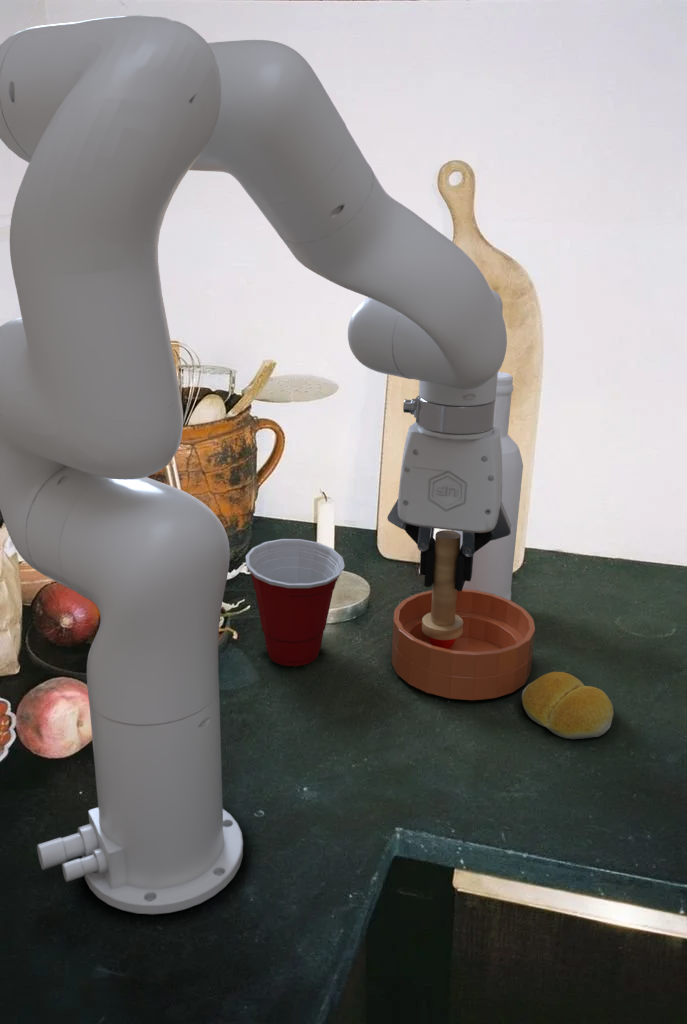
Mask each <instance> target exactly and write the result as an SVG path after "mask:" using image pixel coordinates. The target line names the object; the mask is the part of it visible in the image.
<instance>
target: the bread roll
mask: <svg viewBox="0 0 687 1024" xmlns="http://www.w3.org/2000/svg"><path fill="white" fill-rule="evenodd" d="M521 701H522V706H523V709H524V711H525V714H527V716H528V717H529V719H531V720H532V721H534V722H535V723H537V724H538V725H539V726H542V727H545V728H546V729H547V730H549V731H550V732H551V733H553V734H554V735H556V736H558V737H560V738H563V739H568V740H580V739H591V738H592V739H593V738H598V737H601V736H602V735H604V734H605V733H607V732H608V730H609V729H610V728H611V725H612V722H613V718H614V713H615V711H614V707H613V703H612V701H611V700H610V697H609V696H608V695H607V693H605V692H604V691H603V690H602V689H600V688H598V687H595V686H590V685H585V684H584V683H583V682H582V681H581V680H580V679H579V678H577V677H576V676H574V675H572V674H571V673H568V672H565V671H550V672H548V673H545V674H543V675H540V676H539V677H537V678H536V679H535V680H533V681H532V682H530V683H528V684H527V685H526V687H524V689H523V690H522V694H521Z"/></svg>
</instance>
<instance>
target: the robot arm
mask: <svg viewBox="0 0 687 1024" xmlns="http://www.w3.org/2000/svg"><path fill="white" fill-rule="evenodd" d="M0 140H1V142H2V143H3V144H4V145H5V147H7V148H8V149H9V150H10V151H11V152H12V153H13V154H14V155H16V156H17V157H18V158H19V159H22V160H23V161H25V162H27V163H28V166H27V167H26V169H25V172H24V174H23V177H22V180H21V182H20V185H19V188H18V191H17V194H16V196H15V199H14V203H13V208H12V213H11V217H10V226H9V257H10V263H11V270H12V276H13V280H14V285H15V290H16V295H17V300H18V305H19V310H20V317H17V318H14V319H11V320H9V321H7V322H5V323H3V324H1V325H0V513H1V517H2V520H3V523H4V525H5V528H6V531H7V533H8V536H9V538H10V540H11V542H12V545H13V546H14V549H15V550H16V551H17V553H18V554H19V556H20V557H21V558H22V559H23V561H25V563H26V564H28V566H30V567H31V568H32V569H33V570H35V571H36V572H38V573H40V574H41V575H43V576H45V577H46V578H48V579H49V580H52V581H54V582H56V583H58V584H59V585H62V586H63V587H66V588H67V589H70V590H72V591H73V592H76V593H77V594H78V595H80V596H81V597H83V598H85V599H87V600H89V601H90V602H92V603H93V604H95V606H96V607H97V609H98V611H99V616H100V619H99V620H100V621H99V627H98V630H97V632H96V634H95V637H94V638H93V641H92V643H91V646H90V648H89V651H88V655H87V661H86V686H87V688H86V689H87V698H88V706H89V715H90V718H89V719H90V726H91V738H92V739H91V740H92V741H91V742H92V751H93V762H94V763H93V764H94V774H95V785H96V797H97V807H94V808H90V809H89V810H88V811H87V812H88V813H87V814H88V821H89V823H87V824H85V825H82V826H79V827H77V832H76V833H72V834H69V835H67V836H64V837H62V836H61V837H57V838H54V839H49V840H47V841H45V842H44V841H43V842H41V843H38V844H36V850H37V851H36V852H37V856H38V861H39V864H40V867H41V870H42V871H45V870H48V869H51V868H54V867H56V866H60V865H61V868H62V869H61V870H62V874H63V878H64V881H65V883H68V882H71V881H74V880H78V879H81V878H84V880H85V882H86V884H87V886H88V888H89V890H90V891H91V892H92V893H93V895H95V896H96V897H97V899H99V900H101V901H103V902H104V903H105V904H107V905H108V906H111V907H113V908H116V909H118V910H121V911H124V912H128V913H133V914H140V915H141V914H142V915H160V914H161V915H162V914H170V913H176V912H179V911H183V910H186V909H189V908H192V907H195V906H197V905H200V904H202V903H204V902H205V901H207V900H209V899H211V898H213V897H214V896H216V895H217V894H219V893H220V892H221V891H222V890H224V889H225V888H226V887H227V885H229V883H230V882H231V881H232V880H233V879H234V878H235V876H236V874H237V873H238V871H239V869H240V867H241V864H242V862H243V861H242V860H243V857H244V839H243V832H242V830H241V828H240V826H239V823H238V822H237V820H236V819H235V818H234V817H233V815H231V813H230V812H228V811H227V810H225V808H224V805H223V804H224V803H223V775H222V774H223V773H222V769H223V768H222V739H221V738H222V735H221V706H220V704H221V703H220V701H221V700H220V680H219V679H220V678H219V675H220V674H219V640H220V639H219V636H220V622H221V613H222V606H223V601H224V596H225V590H226V586H227V581H228V576H229V569H230V559H231V548H230V541H229V538H228V535H227V531H226V529H225V527H224V524H223V523H222V522H221V520H220V519H219V517H218V516H217V515H216V514H215V512H214V511H213V510H212V509H211V508H210V507H209V506H208V505H207V504H205V503H204V502H202V501H201V500H200V499H198V498H197V497H195V496H193V495H192V494H190V493H189V492H186V491H184V490H182V489H180V488H178V487H175V486H172V485H170V484H167V483H164V482H162V481H158V480H156V479H152V478H150V476H151V475H155V474H157V473H158V472H160V471H162V470H164V468H166V467H167V466H168V465H169V464H170V463H171V462H172V460H173V458H174V457H175V455H176V454H177V452H178V450H179V447H180V445H181V443H182V439H183V431H184V409H183V401H182V395H181V390H180V384H179V377H178V374H177V368H176V363H175V357H174V351H173V347H172V341H171V336H170V330H169V324H168V320H167V314H166V307H165V303H164V298H163V290H162V284H161V283H162V282H161V275H160V274H161V273H160V266H159V242H160V234H161V229H162V226H163V222H164V219H165V216H166V212H167V210H168V208H169V205H170V204H171V202H172V198H173V196H174V194H175V193H176V192H177V190H178V188H179V186H180V184H181V182H182V181H183V179H184V178H185V176H186V175H187V173H188V172H189V171H198V172H217V173H221V172H222V173H226V174H229V175H231V176H232V177H233V178H234V179H235V180H236V181H237V182H238V183H239V185H240V186H241V187H242V189H243V190H244V191H245V193H246V194H248V196H249V198H250V199H251V200H252V201H253V203H254V205H256V207H257V208H258V210H259V211H260V212H261V214H262V215H263V216H264V218H266V220H267V221H268V223H269V224H270V226H272V228H273V230H274V231H275V232H276V233H277V235H278V236H279V238H280V239H281V240H282V242H283V243H284V244H285V245H286V247H287V248H288V250H289V251H290V252H291V254H292V255H293V257H294V258H295V259H296V260H297V261H298V262H299V263H300V264H301V265H302V266H304V267H305V268H306V269H308V270H309V271H311V272H313V273H314V274H316V275H318V276H320V277H322V278H324V279H325V280H328V281H329V282H331V283H333V284H335V285H338V286H340V287H342V288H344V289H346V290H349V291H351V292H354V293H355V294H356V293H357V294H359V295H362V296H365V297H367V298H365V299H364V300H363V301H361V302H360V303H359V304H358V306H356V308H355V310H354V311H353V313H352V315H351V317H350V319H349V322H348V327H347V341H348V346H349V348H350V351H351V353H352V355H353V356H354V358H355V359H357V361H358V362H359V364H360V363H361V365H362V366H364V367H366V368H367V369H369V370H372V371H374V372H377V373H379V374H380V373H381V374H384V375H389V376H392V377H393V376H394V377H399V378H403V379H408V380H415V381H418V395H417V396H416V397H415V398H411V399H406V398H405V399H404V401H403V405H402V409H403V410H402V411H403V413H407V414H410V415H413V417H414V418H415V421H414V423H412V424H411V425H409V427H408V431H407V434H406V437H405V442H404V448H403V453H402V460H401V467H400V475H399V485H398V495H397V496H398V498H397V500H396V501H395V502H394V504H393V506H392V508H391V510H390V511H389V513H388V514H387V517H386V518H387V519H386V520H387V521H388V522H389V523H391V524H392V525H394V526H395V527H397V528H399V529H401V530H404V531H405V533H406V534H407V535H408V536H409V537H410V538H411V540H412V541H413V542H414V543H415V544H416V546H417V549H418V551H420V559H419V576H424V583H423V586H424V588H425V587H426V588H430V587H433V572H434V555H435V535H434V534H435V529H438V530H454V531H463V544H462V546H461V548H460V552H459V554H458V556H457V565H456V580H455V589H457V591H462V589H463V586H464V583H465V581H471V577H472V567H473V555H474V553H475V552H476V551H478V550H479V549H480V548H482V547H483V546H484V545H486V544H487V543H488V542H489V541H491V540H496V539H499V538H502V537H505V536H508V535H510V533H511V530H512V525H511V523H510V520H509V518H508V516H507V513H506V511H505V509H504V506H503V504H502V447H501V438H500V431H499V429H497V428H496V427H494V415H495V403H496V390H497V377H498V372H500V369H501V368H502V366H503V364H504V361H505V357H506V353H507V347H508V345H507V344H508V335H507V328H506V322H505V318H504V315H503V312H504V311H503V309H504V307H503V306H504V304H503V300H502V297H501V295H500V294H499V293H498V292H497V291H496V290H494V289H491V287H490V284H489V282H488V281H487V279H486V277H485V275H484V274H483V273H482V271H481V269H480V268H479V266H478V265H477V264H476V263H475V262H474V261H473V259H472V258H471V257H470V256H469V255H468V254H467V253H466V252H465V251H464V250H463V249H462V248H461V247H459V246H458V245H457V244H456V243H455V242H454V241H452V240H451V239H449V238H448V237H447V236H445V235H444V234H443V233H441V232H440V231H439V230H437V229H436V228H435V227H433V226H432V225H431V224H430V223H428V222H427V221H426V220H424V219H423V218H422V217H420V215H418V214H417V213H415V212H414V211H413V210H411V209H410V208H408V207H406V206H405V205H404V204H402V203H401V202H399V201H397V199H394V197H392V196H391V195H389V194H388V193H387V191H386V190H385V189H384V187H383V186H382V184H381V182H380V181H379V179H378V177H377V176H376V174H375V172H374V171H373V169H372V167H371V165H370V164H369V163H368V161H367V159H366V158H365V156H364V154H363V153H362V151H361V149H360V147H359V146H358V144H357V143H356V141H355V139H354V137H353V136H352V134H351V132H350V131H349V129H348V127H347V124H346V122H345V120H344V119H343V118H342V116H341V114H340V112H339V111H338V109H337V107H336V105H335V104H334V102H333V101H332V99H331V97H330V96H329V94H328V93H327V91H326V89H325V87H324V86H323V84H322V82H321V80H320V79H319V77H318V75H317V74H316V72H315V71H314V69H313V68H312V66H311V65H310V63H309V62H308V61H307V60H306V59H305V58H304V57H303V56H302V55H301V53H299V52H298V51H297V50H296V49H294V48H292V47H290V46H289V45H287V44H284V43H281V42H277V41H274V40H267V39H242V40H241V39H240V40H227V41H215V42H207V40H206V39H204V37H203V36H202V35H201V34H200V33H198V32H197V31H196V30H195V29H194V28H192V27H191V26H189V25H188V24H185V23H184V22H181V21H177V20H174V19H171V18H168V17H163V16H157V15H143V14H142V15H141V14H139V15H121V16H120V15H119V16H111V17H101V18H94V19H87V20H83V21H82V20H81V21H75V22H74V21H73V22H64V23H55V24H54V23H53V24H45V25H37V26H33V27H29V28H25V29H21V30H19V31H17V32H16V33H13V34H12V35H10V36H8V38H6V39H5V40H4V41H3V42H2V43H0ZM79 857H81V858H79Z"/></svg>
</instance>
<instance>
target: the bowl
mask: <svg viewBox="0 0 687 1024" xmlns="http://www.w3.org/2000/svg"><path fill="white" fill-rule="evenodd" d="M431 605H432V589H430V590H426V591H423V592H418V593H415V594H413V595H411V596H409V597H407V598H405V599H402V601H401V602H400V603H399V604H398V605H397V606H396V607H395V608H394V611H393V618H392V621H393V622H392V641H391V664H392V667H393V669H394V671H395V673H396V674H397V675H398V676H399V677H400V678H401V679H402V680H403V681H405V682H406V683H407V684H408V685H409V686H412V687H414V688H416V689H418V690H421V691H422V692H425V693H426V694H430V695H434V696H438V697H442V698H446V699H449V700H462V701H480V700H490V699H498V698H500V697H503V696H506V695H509V694H513V693H514V692H516V691H518V690H519V689H520V688H521V687H523V686H524V685H526V683H527V681H528V679H529V677H530V674H531V673H532V663H533V654H534V644H535V634H536V626H535V620H534V618H533V617H532V616H531V614H530V613H529V612H528V611H527V610H526V608H524V607H522V606H521V605H519V604H517V603H516V602H514V601H513V600H512V599H511V600H508V599H505V598H503V597H500V596H497V595H495V594H491V593H486V592H481V591H477V590H467V589H462V591H457V599H456V613H455V614H456V615H458V616H460V617H461V618H462V620H463V633H462V634H461V636H459V637H458V638H455V642H454V644H453V645H452V646H451V647H450V648H449V649H445V648H441V647H437V646H433V645H432V644H431V643H430V640H429V637H428V636H427V635H425V634H424V633H423V631H422V619H423V617H424V616H425V615H426V614H428V613H431Z"/></svg>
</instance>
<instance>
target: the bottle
mask: <svg viewBox="0 0 687 1024" xmlns="http://www.w3.org/2000/svg"><path fill="white" fill-rule="evenodd" d="M513 382H514V378H513V375H511V374H510V373H508V372H503V371H498V377H497V390H496V403H495V415H494V427H496V428H497V429H499V431H500V438H501V447H502V504H503V506H504V509H505V511H506V513H507V516H508V518H509V520H510V523H511V525H512V530H511V533H510V535H508V536H505V537H502V538H499V539H496V540H491V541H489V542H488V543H487V544H486V545H484V546H483V547H482V548H480V549H479V550H478V551H476V552H475V553H474V555H473V567H472V577H471V581H465V583H464V586H463V589H467V590H477V591H481V592H486V593H491V594H495V595H497V596H500V597H503V598H505V599H508V600H511V601H512V583H513V574H514V573H513V571H514V562H515V552H516V544H517V543H516V541H517V534H518V533H517V531H518V524H519V523H518V522H519V511H520V501H521V493H522V492H521V491H522V482H523V481H522V480H523V471H524V462H523V458H522V455H521V451H520V447H519V445H518V444H517V443H516V441H514V440H513V438H512V437H511V436H510V435H509V425H510V415H511V406H512V405H511V404H512V395H513V392H514V385H513ZM451 531H454V530H451ZM455 532H458V533H459V534H460V535H461V540H460V548H461V546H462V544H463V531H455Z"/></svg>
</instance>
